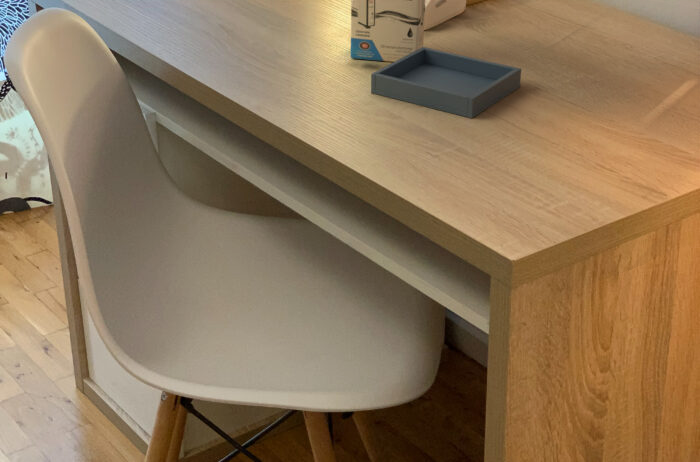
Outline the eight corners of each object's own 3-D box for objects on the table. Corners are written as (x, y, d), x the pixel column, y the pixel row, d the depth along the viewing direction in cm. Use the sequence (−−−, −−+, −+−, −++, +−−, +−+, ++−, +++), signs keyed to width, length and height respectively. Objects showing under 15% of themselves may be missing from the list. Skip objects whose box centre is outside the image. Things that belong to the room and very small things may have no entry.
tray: (520, 87, 124) (521, 68, 122) (472, 118, 116) (473, 98, 114) (422, 64, 130) (423, 46, 129) (370, 92, 122) (370, 73, 121)
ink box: (349, 59, 132) (348, -36, 126) (358, 46, 136) (358, -47, 131) (417, 64, 130) (420, -32, 125) (424, 51, 134) (427, -43, 129)
